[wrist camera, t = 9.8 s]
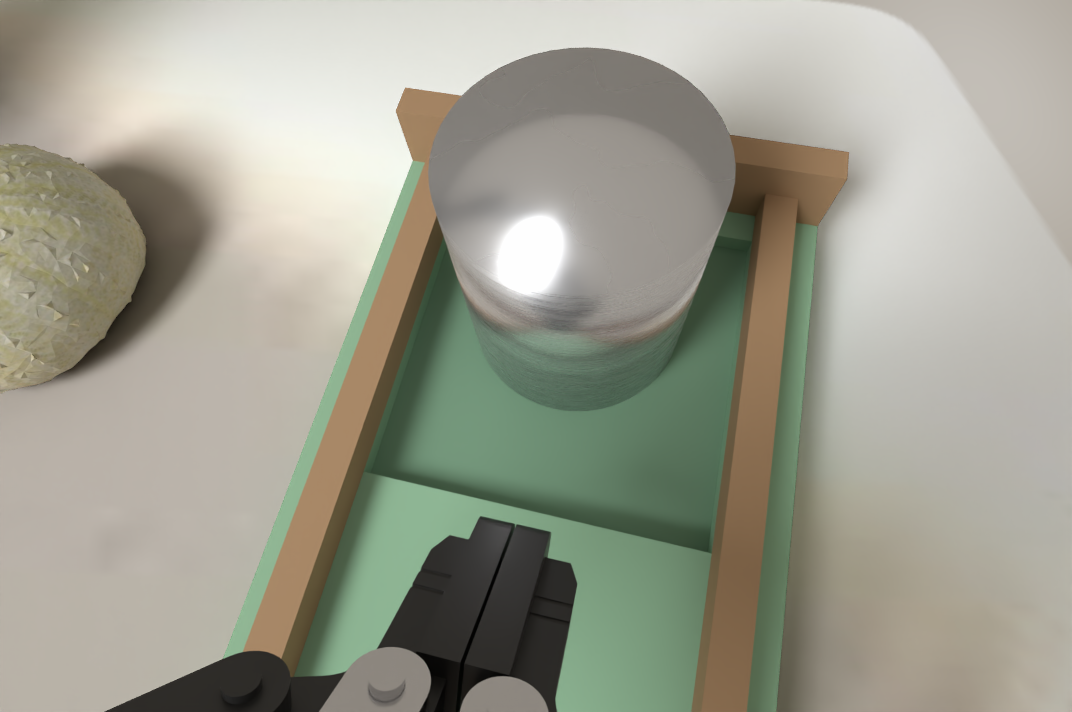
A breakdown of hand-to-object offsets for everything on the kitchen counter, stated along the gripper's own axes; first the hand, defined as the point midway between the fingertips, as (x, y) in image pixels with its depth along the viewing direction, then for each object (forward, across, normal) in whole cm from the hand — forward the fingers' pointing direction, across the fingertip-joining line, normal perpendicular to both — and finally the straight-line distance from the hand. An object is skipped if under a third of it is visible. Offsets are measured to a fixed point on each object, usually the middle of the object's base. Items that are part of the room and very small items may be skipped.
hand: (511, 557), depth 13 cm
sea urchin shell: (+9, +20, 0) cm, 22 cm away
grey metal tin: (+9, 0, -2) cm, 9 cm away
